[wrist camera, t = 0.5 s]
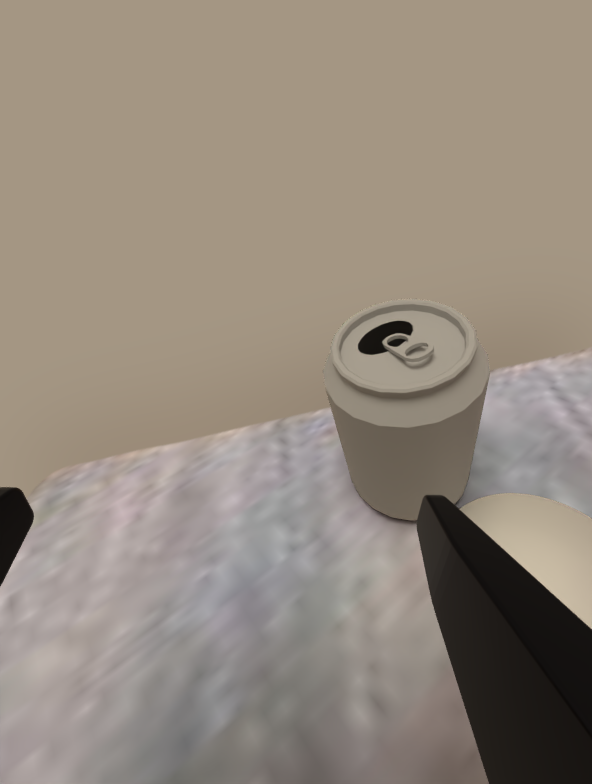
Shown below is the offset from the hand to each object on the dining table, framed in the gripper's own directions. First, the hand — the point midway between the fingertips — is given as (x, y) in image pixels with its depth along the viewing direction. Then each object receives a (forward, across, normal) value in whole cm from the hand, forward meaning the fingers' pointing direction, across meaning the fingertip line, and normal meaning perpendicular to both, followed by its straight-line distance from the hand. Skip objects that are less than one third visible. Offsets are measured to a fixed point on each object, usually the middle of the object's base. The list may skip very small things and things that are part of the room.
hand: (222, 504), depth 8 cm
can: (+13, -9, +11) cm, 19 cm away
